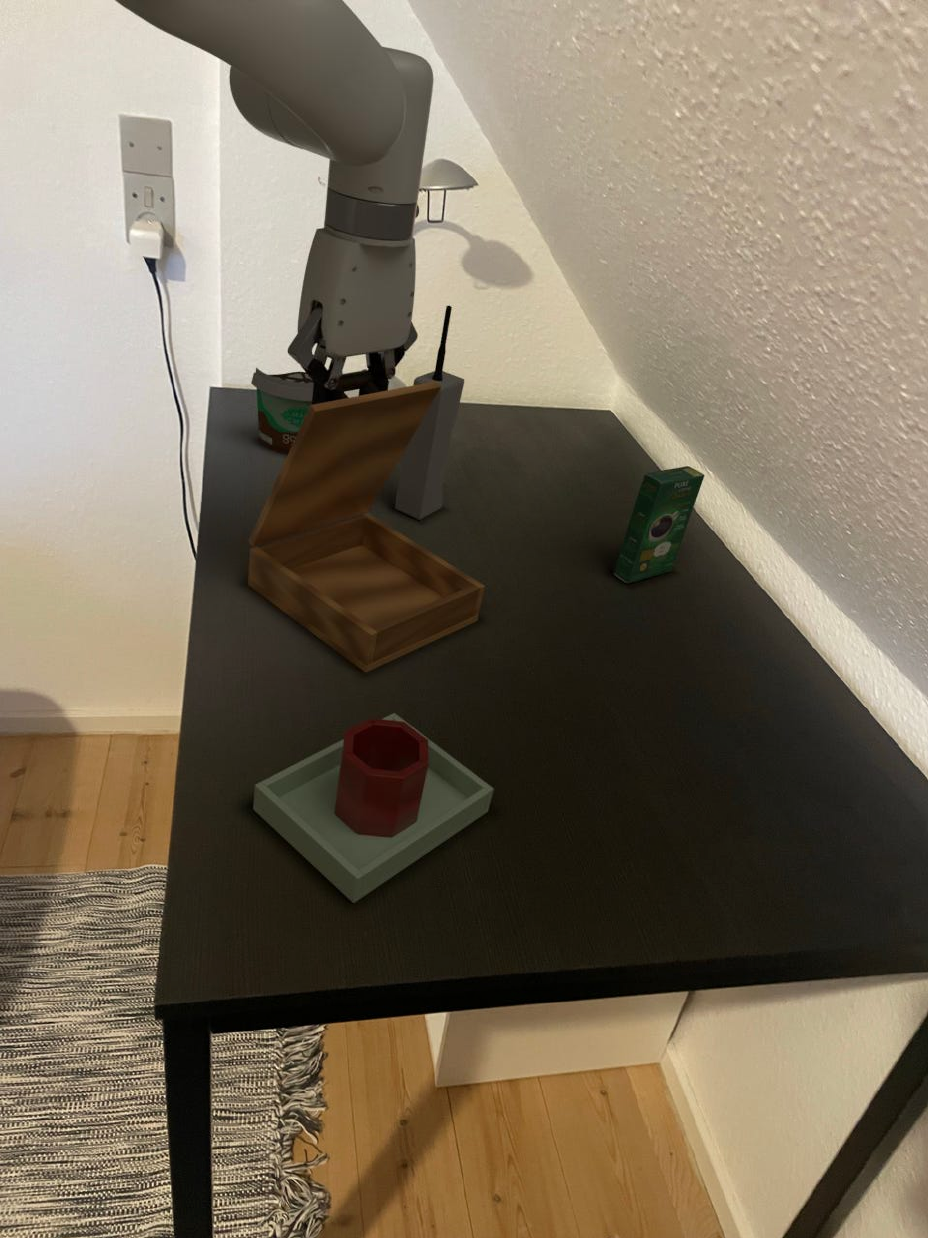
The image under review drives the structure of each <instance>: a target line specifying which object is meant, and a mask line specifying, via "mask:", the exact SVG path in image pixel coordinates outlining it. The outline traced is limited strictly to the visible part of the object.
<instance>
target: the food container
mask: <svg viewBox="0 0 928 1238" xmlns="http://www.w3.org/2000/svg"><path fill="white" fill-rule="evenodd" d="M341 374H344V373H343V371H342V373H341ZM250 383H251V385H252V386H254V387H255V388H256V404H257V406H256V407H257V425H258V442H259V443H260V444H261V445H262V446H264V447H266V448H267V449H269V450H270V451H274V452H277V453H279V454H284V455H288V454H289V452H290V449H291V447H292V445H293V443H294V441H295V438H296V436H297V434H298V432H299V430H300V428H301V425H302V423H303V421H304V419H305V417H306V415H307V412H308V410H309V408H310V406H311V405H312V396H313V385H314V381H312V380H310V379H309V378H308V374H307V373H306V372H305V371H291V372H286V373H279V374H278V373H277V374H267V373H265V372H263V371H262V370H260V369H259V368H258V367H255V372H253V374H252V378H251V382H250Z"/></svg>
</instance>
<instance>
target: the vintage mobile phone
mask: <svg viewBox="0 0 928 1238" xmlns="http://www.w3.org/2000/svg"><path fill="white" fill-rule="evenodd" d="M452 309H453V307H452V306H451V305H446V307H445V312H444V319H443V323H442V324H443V325H442V331H441V337H440V344H439V347H438V350H437V356H436V362H435V366H434V367H435V368H434V371H431V372H428V373H425V374H422V375H420V376H416V377H415V378H414V380H413V383H412V386H413V385H418V384H424V383H429V382H434V381H437V382H438V383H439V384H440V385H441V388H440V390H439V392H438V394H437V395H436V397H435V399H434V400H433V402H432V404H431V406H430V407H429V409H428V411H427V412H426V414H425V416H424V418H423V419H422V421H421V423H420V425H419V426H418V428H417V430H416V431H415V433H414V435H413V437H412V438H411V440H410V442H409V443H408V445H407V447H406V449H405V450H404V452H403V454H402V456H401V457H402V458H401V465H400V471H399V478H398V485H397V491H396V497H395V498H396V499H395V504H394V509H395V510H396V511H398V512H400V513H402V514H405V515H406V516H408V517H410V518H413V519H415V520H418V521H421V520H423V519H425V518H426V517H429V516H430V515H431V514H434V513H435V512H437V511H439V510H440V509H442V507H443V502H444V496H443V483H444V477H445V472H446V465H447V461H448V455H449V449H450V444H451V437H452V433H453V432H452V431H453V428H454V426H455V424H456V421H457V417H458V412H459V408H460V404H461V399H462V394H463V390H464V386H465V379H464V378H462V377H460V376H458V375H455V374H451V373H449V372H446V371H444V370H443V369H444V364H445V359H446V358H445V357H446V349H447V348H446V346H447V345H446V344H447V339H448V333H449V329H450V321H451V315H452Z"/></svg>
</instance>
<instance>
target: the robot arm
mask: <svg viewBox="0 0 928 1238" xmlns="http://www.w3.org/2000/svg"><path fill="white" fill-rule="evenodd" d="M114 1H115V2H116V3H117V4H119V5H120V6H122V7H123V8H124V9H126V10H128V11H130V12H131V13H133V14H134V15H135V16H137V17H139V18H140V19H142V20H143V21H145V22H146V23H148V24H149V25H151V26H153V27H154V28H157V29H158V30H160V31H162V32H164V33H166V34H168V35H170V36H173V37H174V38H176V39H179V40H181V41H183V42H185V43H188V44H189V45H191V46H194V47H196V48H198V49H200V50H202V51H204V52H206V53H207V54H210V55H212V56H213V57H215V58H217V59H219V60H221V61H222V62H223V63H226V64H227V65H229V66H230V68H229V87H230V89H229V90H230V93H231V97H232V100H233V102H234V104H235V106H236V108H237V110H238V112H239V113H240V114H241V117H242V118H243V119H244V120H245V121H246V122H247V123H248V124H249V125H250V126H251V127H253V128H254V129H255V130H257V131H258V132H260V133H261V134H262V135H264V136H267V137H269V138H270V139H273V140H275V141H276V142H277V141H278V142H280V143H283V144H286V145H289V146H292V147H294V148H297V149H300V150H304V151H307V152H310V153H313V154H315V155H317V156H320V157H323V158H326V159H328V160H329V163H328V175H327V185H326V186H327V187H326V198H325V208H324V220H323V221H324V222H323V227H322V228H316V230H315V232H314V235H313V237H312V238H313V239H312V241H311V244H310V248H309V252H308V256H307V260H306V265H305V270H304V274H303V275H304V276H303V281H302V288H301V292H300V293H301V294H300V301H299V308H298V317H297V330H296V331H297V334H296V335H295V336H294V338H293V340H292V341H291V343H290V344H289V346H288V348H287V354H288V355H289V356H290V357H291V358H292V359H293V360H294V361H295V362H296V363H297V364H299V366H300V367H301V368H302V370H303V372H306V373H307V374H308V378H309V379H310V380H312V381H314V385H313V396H312V405H314V404H319V403H325V402H330V401H335V400H340V399H341V398H342V390H341V389H339V388H337V385H338V382H339V379H340V376H341V373H342V372H343V369H344V367H345V364H346V361H347V358H349V357H355V356H362V355H363V356H364V355H365V362H366V368H367V369H366V368H364V369H361V371H363V370H369V371H370V372H371V373H372V375H373V378H374V382H373V383H374V384H375V385H376V386H377V388H378V389H379V390H380V391H381V392H382V391H387V390H389V386H390V385H389V384H390V380H392V379H393V378H394V377H395V376H396V373H397V371H396V368H397V366H398V365H399V364H400V362H401V361H402V360H403V359H404V357H405V355H406V352H408V350H409V349H410V348H411V347H412V346H413V345H414V344H415V342H416V341H417V340H418V336H419V334H418V332H417V330H416V327H415V325H414V322H413V311H414V304H415V293H416V292H415V291H416V271H417V270H416V269H417V268H416V267H417V259H416V257H417V254H416V252H417V250H416V238H414V230H415V223H416V218H418V217H419V215H420V207H419V204H418V201H419V193H420V188H421V187H420V186H421V179H422V171H423V166H424V165H423V164H424V157H425V150H426V142H427V134H428V127H429V120H430V113H431V106H432V98H433V92H434V81H435V80H434V73H433V72H434V71H433V69H432V66H431V64H430V63H429V62H428V60H427V59H425V58H424V57H423V56H420V55H418V54H416V53H413V52H409V51H406V50H401V49H396V48H392V47H386V46H382V45H381V43H380V42H379V41H378V40H377V38H376V37H375V36H374V35H373V33H372V32H371V31H370V30H369V29H368V28H367V26H366V25H365V24H364V23H363V22H362V21H361V20H360V18H359V17H358V16H357V15H356V13H355V12H354V11H353V10H352V9H351V8H350V7H349V5H347V3H346V2H345V1H344V0H114ZM315 346H316V347H315ZM314 347H315V349H314ZM313 349H314V354H313ZM328 358H329V359H331V360H330V362H329V366H328V368H327V367H326V365H327V364H326V363H327V360H328ZM366 394H370V393H369V392H368V391H367V390H366V389H365V388H362V389H358V395H357V396H361V395H366Z"/></svg>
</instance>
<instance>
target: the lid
mask: <svg viewBox="0 0 928 1238" xmlns="http://www.w3.org/2000/svg"><path fill="white" fill-rule="evenodd" d="M362 370H363V371H362ZM362 370H358V371H357V370H356V371H352V372H347V373H346V372H345V373H343V374H341V376H340V379H339V382H338V385H337V388H339V389H341V390H342V398H341V399H340V400H335V401H330V402H325V403H319V404H314V405H311V406H310V408H309V410H308V412H307V415H306V417H305V419H304V421H303V423H302V425H301V428H300V430H299V432H298V434H297V436H296V438H295V441H294V443H293V445H292V447H291V449H290V452H289V454H287V456H286V457H285V459H284V462H283V464H282V467H281V469H280V471H279V473H278V475H277V478H276V480H275V482H274V484H273V487H272V488H271V491H270V493H269V495H268V497H267V499H266V502H265V503H264V506H263V509H262V510H261V512H260V515H259V516H258V519H257V521H256V523H255V526H254V528H253V530H252V532H251V534H250V536H249V538H248V543H249V544H250V546H251V548H253V547H256V546H259V545H263V544H266V543H269V542H272V541H276V540H279V539H282V538H285V537H289V536H292V535H295V534H298V533H302V532H305V531H308V530H311V529H315V528H318V527H321V526H324V525H328V524H331V523H334V522H337V521H341V520H344V519H347V518H350V517H354V516H357V515H360V514H363V513H368V512H370V510H371V509H372V507H373V505H374V504H375V503H376V500H377V499H378V497H379V495H380V493H381V492H382V490H383V489H384V487H385V485H386V483H387V481H388V479H389V478H390V476H391V474H392V472H393V471H394V469H395V468H396V466H397V464H398V462H399V460H401V457H402V456H403V452H404V450H405V449H406V447H407V445H408V443H409V442H410V440H411V438H412V437H413V435H414V433H415V431H416V430H417V428H418V426H419V425H420V423H421V421H422V419H423V418H424V416H425V414H426V412H427V411H428V409H429V407H430V406H431V404H432V402H433V400H434V399H435V397H436V395H437V394H438V392H439V390H440V388H441V385H440V384H439V383H438V382H437V381H434V382H429V383H424V384H418V385H413V384H412V385H408V386H404V387H403V386H402V387H399V388H393V389H388V390H387V391H382V392H381V391H380V390H379V389H378V388H377V386H376V385H375V384H374V383H373V382H374V378H373V375H372V373H371V372H370V371H369V370H368V369H367V370H364V369H362ZM362 388H365V389H366V390H367V391H368V392H369V393H370V394H366V395H361V396H358V395H356V396H351V397H349V396H348V395H347V393H346V392H351V391H356V390H359V389H362Z"/></svg>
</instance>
